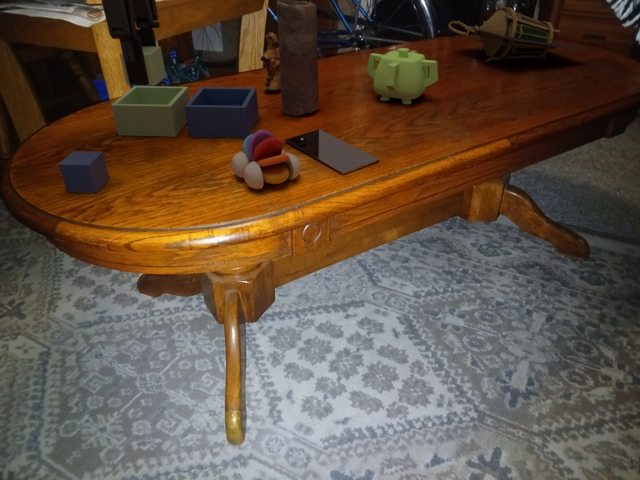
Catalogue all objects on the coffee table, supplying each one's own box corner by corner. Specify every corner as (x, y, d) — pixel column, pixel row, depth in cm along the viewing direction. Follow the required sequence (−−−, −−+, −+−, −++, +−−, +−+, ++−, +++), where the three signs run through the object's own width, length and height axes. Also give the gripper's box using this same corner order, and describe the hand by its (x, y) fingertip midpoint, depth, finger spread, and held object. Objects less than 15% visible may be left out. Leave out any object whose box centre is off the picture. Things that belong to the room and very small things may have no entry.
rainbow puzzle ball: (256, 198, 72) (252, 151, 68) (227, 173, 79) (221, 128, 75) (307, 182, 76) (306, 136, 72) (275, 159, 83) (272, 116, 79)
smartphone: (342, 172, 78) (283, 138, 88) (342, 176, 78) (283, 141, 89) (379, 159, 82) (319, 127, 92) (379, 162, 82) (319, 130, 92)
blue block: (67, 192, 74) (58, 164, 72) (81, 178, 78) (73, 150, 76) (97, 193, 74) (88, 165, 72) (110, 178, 78) (102, 151, 75)
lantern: (576, 82, 127) (483, 61, 114) (512, 67, 146) (426, 48, 133) (599, 24, 121) (504, -5, 109) (529, 16, 140) (442, -9, 127)
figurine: (291, 91, 111) (288, 33, 105) (267, 95, 109) (263, 36, 102) (281, 85, 115) (278, 28, 108) (258, 89, 112) (253, 32, 106)
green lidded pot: (437, 103, 104) (444, 53, 99) (386, 109, 101) (389, 58, 96) (411, 86, 113) (415, 39, 108) (363, 91, 110) (365, 44, 105)
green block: (126, 85, 76) (119, 54, 74) (138, 76, 80) (131, 46, 77) (155, 85, 76) (149, 54, 73) (166, 76, 79) (160, 46, 77)
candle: (283, 103, 105) (278, -4, 93) (319, 103, 104) (318, -4, 93) (280, 117, 98) (273, 4, 87) (318, 117, 98) (316, 4, 87)
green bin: (118, 135, 92) (110, 105, 89) (140, 114, 101) (133, 85, 97) (176, 136, 91) (170, 106, 88) (192, 115, 100) (188, 86, 97)
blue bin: (189, 137, 91) (184, 106, 88) (204, 115, 100) (200, 86, 96) (248, 138, 90) (245, 107, 87) (258, 116, 99) (256, 87, 96)
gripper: (107, -107, 57) (148, 98, 70) (162, -108, 71) (188, 63, 85) (43, -107, 58) (96, 97, 71) (110, -107, 72) (144, 62, 85)
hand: (146, 78), depth 78 cm, fingers closed on green block, 4 cm apart
